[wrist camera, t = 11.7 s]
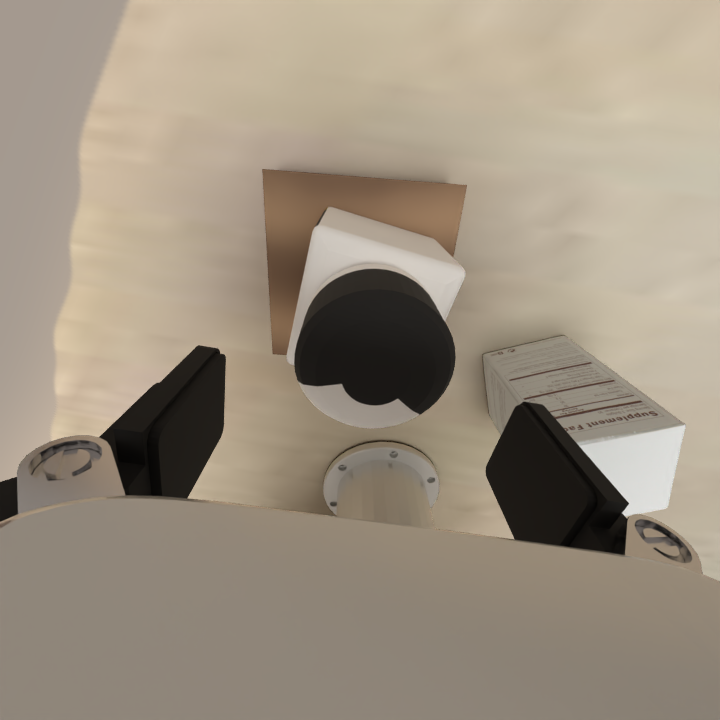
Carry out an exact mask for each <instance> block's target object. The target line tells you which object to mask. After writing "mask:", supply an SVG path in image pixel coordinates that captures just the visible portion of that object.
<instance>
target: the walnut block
mask: <svg viewBox="0 0 720 720" xmlns="http://www.w3.org/2000/svg"><path fill="white" fill-rule="evenodd" d="M262 171H263V189H264V207H265V225H266V242H267V260H268V278H269V296H270V314H271V332H272V350H273V354H280V355H287V351H288V346H289V341H290V336H291V332H292V327H293V322H294V317H295V312H296V308H297V303H298V298H299V293H300V288H301V284H302V279H303V274H304V269H305V265H306V260H307V255H308V250H309V245H310V241H311V236H312V231H313V229H314V227H315V226H316V224H317V222H318V221H319V219H320V217H321V215H322V214H323V212H324V210H325V209H326V208H327V207H333V208H337V209H340V210H343V211H346V212H349V213H353V214H356V215H359V216H362V217H366V218H369V219H372V220H375V221H379V222H382V223H385V224H388V225H391V226H395V227H398V228H401V229H404V230H408V231H411V232H414V233H417V234H420V235H424V236H427V237H430V238H433V239H435V240H436V241H437V242H438V243H439V244H440V245H441V246H442V247H443V248H444V249H445V250H446V251H447V252H448V253H449V254H450V255H451V256H452V257H453V256H454V250H455V245H456V240H457V235H458V230H459V224H460V219H461V214H462V209H463V203H464V198H465V193H466V188H467V185H458V184H445V183H432V182H420V181H407V180H394V179H381V178H369V177H356V176H343V175H330V174H318V173H305V172H292V171H279V170H267V169H262Z"/></svg>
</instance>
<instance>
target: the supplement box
mask: <svg viewBox="0 0 720 720" xmlns="http://www.w3.org/2000/svg"><path fill="white" fill-rule="evenodd" d="M483 365H484V375H485V383H486V392H487V400H488V409H489V416H490V417H491V419H492V421H493V423H494V424H495V426H496V428H497V430H498V431H499V433H500V435H502V433H503V430H504V428H505V426H506V424H507V422H508V420H509V418H510V416H511V414H512V412H513V410H514V408H515V406H517V405H520V404H521V403H522V402H531V403H537V404H542V405H544V406H545V407H546V408H547V410H548V411H549V412H550V413H551V414H552V415H553V416H554V418H555V419H556V420H557V421H558V422H559V423H560V424H561V426H562V427H563V428H564V429H565V430H566V431H567V433H568V434H569V435H570V436H571V437H572V438H573V439H574V441H575V442H576V443H577V444H578V445H579V446H580V448H581V449H582V450H583V451H584V452H585V453H586V454H587V456H588V457H589V458H590V459H591V460H592V461H593V462H594V464H595V465H596V466H597V467H598V468H599V469H600V471H601V472H602V473H603V474H604V475H605V476H606V477H607V479H608V480H609V481H610V482H611V483H612V484H613V485H614V487H615V488H616V489H617V490H618V491H619V492H620V494H621V495H622V496H623V497H624V498H625V499H626V500H627V502H628V503H629V505H628V506H627V507H626V509H625V510H624V511H623V512H622V514H623V515H624V516H629V515H633V514H640V513H646V512H652V511H657V510H661V509H665V508H667V507H668V504H669V499H670V494H671V489H672V484H673V480H674V475H675V471H676V466H677V462H678V457H679V453H680V448H681V444H682V440H683V435H684V431H685V427H686V424H685V423H683V422H681V421H680V420H679V419H677V418H676V417H675V416H673V415H672V414H671V413H669V412H668V411H667V410H665V409H664V408H663V407H661V406H660V405H659V404H657V403H656V402H654V401H653V400H652V399H650V398H649V397H648V396H646V395H645V394H644V393H642V392H641V391H640V390H638V389H637V388H636V387H634V386H633V385H632V384H630V383H629V382H628V381H626V380H625V379H623V378H622V377H621V376H619V375H618V374H617V373H615V372H614V371H613V370H611V369H610V368H609V367H607V366H606V365H604V364H603V363H602V362H600V361H599V360H598V359H596V358H595V357H594V356H592V355H591V354H589V353H588V352H587V351H585V350H584V349H583V348H581V347H580V346H579V345H577V344H576V343H575V342H573V341H572V340H571V339H569V338H568V337H566V336H558V337H554V338H549V339H545V340H541V341H536V342H532V343H528V344H523V345H519V346H515V347H510V348H506V349H502V350H498V351H494V352H489V353H485V354H483Z"/></svg>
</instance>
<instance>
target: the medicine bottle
mask: <svg viewBox="0 0 720 720" xmlns="http://www.w3.org/2000/svg"><path fill="white" fill-rule="evenodd" d="M465 274H466V273H465V270H464V268H463V267H462V266H461V265H460V264H459V263H458V262H457V261H456V260H455V259H454V258H453V257H452V256H451V255H450V254H449V253H448V252H447V251H446V250H445V249H444V248H443V247H442V246H441V245H440V244H439V243H438V242H437V241H436V240H435V239H433V238H430V237H427V236H424V235H420V234H417V233H414V232H411V231H408V230H404V229H401V228H398V227H395V226H391V225H388V224H385V223H382V222H379V221H375V220H372V219H369V218H366V217H362V216H359V215H356V214H353V213H349V212H346V211H343V210H340V209H337V208H333V207H327V208H326V209H325V210H324V212H323V214H322V215H321V217H320V219H319V221H318V222H317V224H316V226H315V227H314V229H313V231H312V236H311V241H310V245H309V250H308V255H307V260H306V265H305V269H304V274H303V279H302V284H301V288H300V293H299V298H298V303H297V308H296V312H295V317H294V322H293V327H292V332H291V336H290V341H289V346H288V351H287V355H286V358H287V362H288V363H289V364H291V365H294V366H295V373H296V376H297V380H298V383H299V385H300V387H301V389H302V391H303V392H304V394H305V395H306V397H307V398H308V399H309V401H310V402H311V403H312V404H313V405H314V406H315V407H316V408H317V409H319V410H320V411H321V412H323V413H324V414H326V415H327V416H329V417H331V418H333V419H335V420H337V421H339V422H342V423H344V424H347V425H351V426H355V427H361V428H386V427H391V426H396V425H399V424H402V423H405V422H407V421H409V420H412V419H414V418H415V417H417V416H419V415H420V414H422V413H423V412H425V411H426V410H427V409H429V408H430V407H431V406H432V405H433V404H434V403H435V402H436V401H437V400H438V399H439V398H440V397H441V395H442V394H443V393H444V391H445V390H446V388H447V386H448V385H449V382H450V380H451V378H452V375H453V371H454V367H455V346H454V342H453V338H452V336H451V333H450V331H449V329H448V327H447V325H446V323H445V321H446V318H447V316H448V314H449V312H450V309H451V307H452V305H453V303H454V301H455V298H456V296H457V294H458V292H459V289H460V287H461V285H462V283H463V281H464V278H465Z"/></svg>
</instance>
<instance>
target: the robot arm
mask: <svg viewBox="0 0 720 720" xmlns="http://www.w3.org/2000/svg"><path fill="white" fill-rule="evenodd" d="M225 365H226V357H225V355H224V354H220V351H219V349H217V348H211V347H205V346H199V345H198V346H197V347H196V348H195V349H194V350H193V351H192V352H191V353H190V354H189V355H188V356H187V357H186V358H185V359H184V360H183V361H182V362H180V363H179V364H178V365H177V366H176V367H175V368H174V369H173V370H172V371H171V372H170V373H169V374H168V375H167V376H166V377H165V378H164V379H163V380H162V381H161V382H160V383H156V384H154V385H153V386H152V387H151V388H150V389H149V390H148V391H147V392H146V393H145V394H144V395H143V396H142V397H140V398H139V399H138V400H137V401H136V402H135V403H134V404H133V405H132V406H131V407H130V408H129V409H128V410H127V411H126V412H125V413H124V414H123V415H122V416H121V417H120V418H119V419H118V420H117V421H116V422H114V423H113V424H112V425H111V426H110V427H109V428H108V429H107V430H106V431H105V432H104V433H103V434H102V435H101V436H100V437H94V436H90V435H77V436H70V437H64V438H61V439H57V440H54V441H51V442H49V443H47V444H44V445H42V446H40V447H38V448H36V449H35V450H33V451H32V452H31V453H29V454H28V455H26V457H25V458H24V459H23V460H22V461H21V463H20V464H19V467H18V471H17V477H15V478H12V479H9V480H5V481H2V482H0V720H720V581H717V580H715V579H713V578H710V577H708V576H706V575H703V573H702V567H701V562H700V559H699V557H698V554H697V553H696V552H695V550H694V549H693V547H692V546H691V545H690V544H689V543H688V542H687V541H686V540H685V539H684V538H683V537H682V536H680V535H679V534H678V533H677V532H675V531H674V530H673V529H671V528H670V527H668V526H667V525H665V524H663V523H662V522H660V521H658V520H655V519H653V518H651V517H648V516H645V515H640V514H633V515H631V516H629V517H628V519H627V518H626V517H625V516H624V515H623V514H622V512H623V511H624V510H625V509H626V507H627V506H628V505H629V503H628V502H627V500H626V499H625V498H624V497H623V496H622V495H621V494H620V492H619V491H618V490H617V489H616V488H615V487H614V485H613V484H612V483H611V482H610V481H609V480H608V479H607V477H606V476H605V475H604V474H603V473H602V472H601V471H600V469H599V468H598V467H597V466H596V465H595V464H594V462H593V461H592V460H591V459H590V458H589V457H588V456H587V454H586V453H585V452H584V451H583V450H582V449H581V448H580V446H579V445H578V444H577V443H576V442H575V441H574V439H573V438H572V437H571V436H570V435H569V434H568V433H567V431H566V430H565V429H564V428H563V427H562V426H561V424H560V423H559V422H558V421H557V420H556V419H555V418H554V416H553V415H552V414H551V413H550V412H549V411H548V410H547V408H546V407H545V406H544V405H542V404H537V403H531V402H522V403H521V404H520V405H517V406H515V408H514V410H513V412H512V414H511V416H510V418H509V420H508V422H507V424H506V426H505V428H504V430H503V433H502V435H501V437H500V439H499V441H498V443H497V445H496V447H495V449H494V451H493V453H492V455H491V458H490V460H489V462H488V464H487V466H486V476H487V479H488V481H489V483H490V486H491V488H492V490H493V492H494V494H495V497H496V499H497V501H498V503H499V505H500V508H501V510H502V512H503V514H504V516H505V519H506V521H507V523H508V525H509V528H510V530H511V532H512V534H513V536H514V539H515V540H514V539H507V538H499V537H492V536H485V535H477V534H470V533H462V532H455V531H447V530H440V529H435V527H434V522H433V518H432V513H431V508H432V506H433V505H434V503H435V502H436V500H437V497H438V494H439V485H440V483H439V479H438V475H437V472H436V469H435V467H434V465H433V464H432V462H431V461H430V460H429V459H428V458H427V457H426V456H425V455H424V454H423V453H421V452H419V451H418V450H416V449H414V448H412V447H409V446H406V445H404V444H399V443H394V442H374V443H367V444H363V445H359V446H356V447H354V448H352V449H350V450H347V451H346V452H344V453H343V454H341V455H340V456H338V457H337V458H336V459H335V460H334V461H333V462H332V464H331V465H330V467H329V468H328V470H327V472H326V475H325V478H324V485H323V493H324V498H325V501H326V504H327V505H328V507H329V508H330V510H331V511H332V512H333V513H334V514H335V515H336V516H331V515H323V514H315V513H307V512H299V511H291V510H283V509H275V508H267V507H259V506H251V505H242V504H234V503H226V502H218V501H209V500H198V499H187V498H188V496H189V494H190V492H191V491H192V489H193V487H194V485H195V483H196V481H197V480H198V478H199V476H200V474H201V472H202V470H203V469H204V467H205V465H206V463H207V461H208V460H209V458H210V456H211V454H212V452H213V450H214V449H215V447H216V445H217V443H218V441H219V440H220V438H221V435H222V432H223V427H224V399H225Z"/></svg>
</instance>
